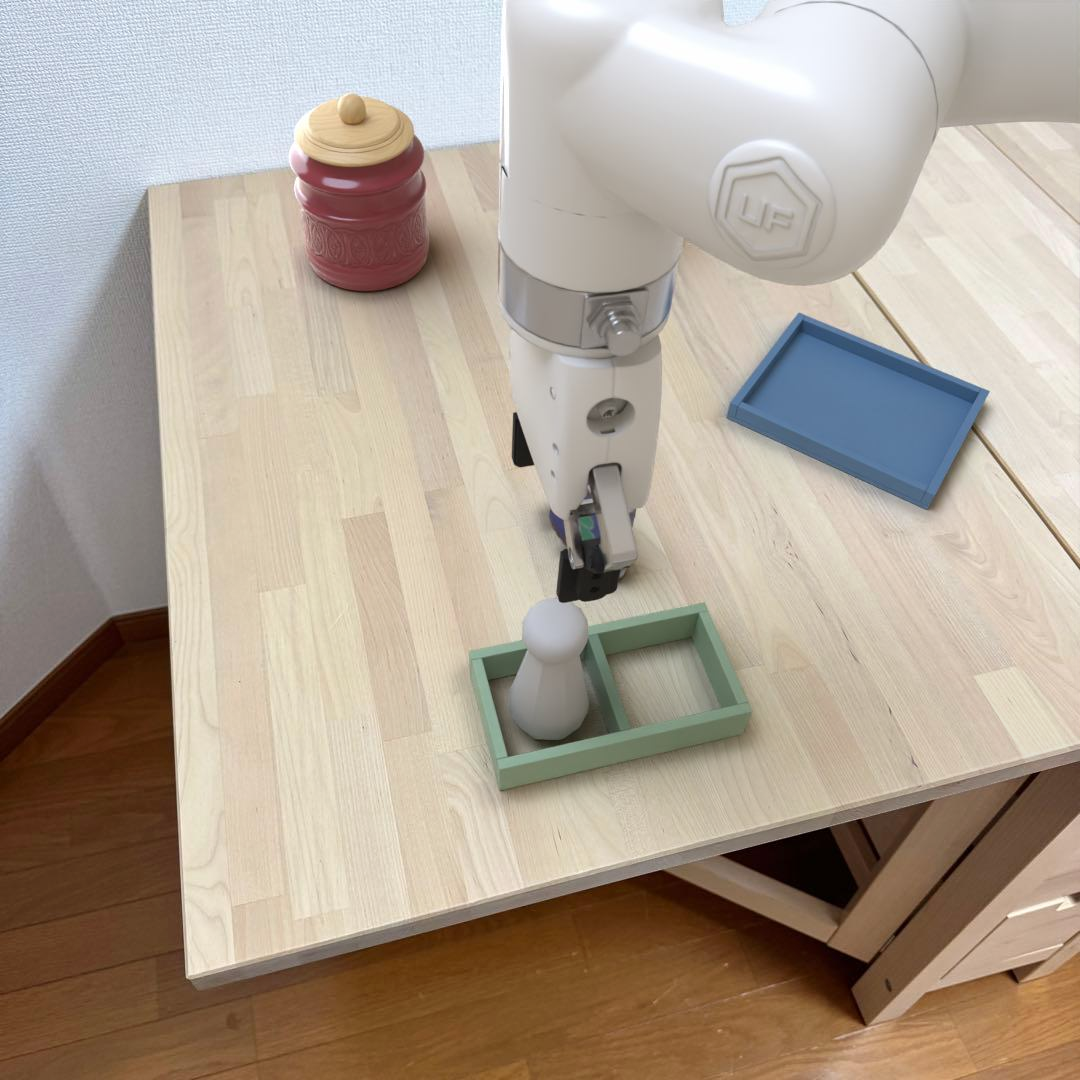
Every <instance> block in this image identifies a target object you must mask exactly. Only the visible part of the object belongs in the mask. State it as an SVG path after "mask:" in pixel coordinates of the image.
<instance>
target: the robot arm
mask: <svg viewBox="0 0 1080 1080" xmlns="http://www.w3.org/2000/svg"><path fill="white" fill-rule="evenodd" d="M500 33H501V35H500V36H501V38H500V39H501V40H500V99H499V100H500V101H499V104H500V105H499V164H498V165H499V170H498V171H499V174H498V175H499V176H498V232H497V234H498V235H497V236H498V237H497V239H498V241H497V305H498V309H499V312H500V314H501V316H502V318H503V320H504V321H505V323H506V324H507V325H508V327H509V328H510V331H509V332H510V333H509V358H508V359H509V360H508V361H509V362H508V363H509V365H508V366H509V367H508V369H509V384H510V391H511V396H512V401H513V405H514V408H515V411H516V412H512V432H511V460H512V464H513V465H514V466H515V467H517V468H526V467H532V466H534V468H535V470H536V473H537V476H538V479H539V482H540V484H541V487H542V491H543V493H544V495H545V499H546V500H547V504H548V506H549V509H550V508H551V510H552V511H553V513H554V514H555V515H557V516H558V517H559V518H561V519H563V520H564V527H565V535H566V543H567V547H566V548H564V549H563V550H560V552H559V561H558V572H557V581H556V590H555V594H556V598H558V600H559V602H561V603H567V602H572V603H573V602H577V601H580V602H583V603H588V602H593V601H598V600H601V599H603V598H604V597H606V596H607V595H610V594H614V593H615V592H617V590H618V585H619V580H620V579H619V576H620V570H621V569H624V568H626V569H629V568H630V567H631V566H632V564H634V563H636V562H637V561H638V558H639V557H638V556H639V553H638V548H637V542H636V538H635V533H634V529H633V528H632V525H631V520H630V516H629V512H628V510H634V509H636V510H638V509H642V508H644V507H645V505H646V504H647V502H648V500H649V497H650V493H651V489H652V488H651V487H652V482H653V475H654V469H655V461H656V455H657V449H658V448H657V446H658V441H659V440H658V438H659V431H660V420H661V409H662V394H663V393H662V391H663V390H662V389H663V388H662V387H663V359H662V358H663V357H662V356H663V355H662V344H661V340H660V336H659V335H660V333H661V332H662V331H663V330H664V329H665V326H666V325H667V323H668V320H669V318H670V315H671V311H672V310H671V309H672V305H673V297H674V294H675V293H674V292H675V288H676V287H675V286H676V282H677V277H678V272H679V267H680V266H679V265H680V261H681V255H682V250H683V247H684V241H687V242H688V243H690V244H692V245H693V246H695V247H697V248H698V249H700V250H702V251H704V253H707V254H709V255H710V256H712V257H713V258H715V259H716V260H719V261H721V262H723V263H724V264H726V265H728V266H730V267H732V268H733V269H736V270H738V271H740V272H743V273H745V274H746V275H747V274H748V275H750V276H752V277H755V278H758V279H760V280H762V281H768V282H771V283H776V284H781V285H785V286H797V287H798V286H799V287H809V286H817V285H823V284H828V283H832V282H834V281H837V280H840V279H842V278H845V277H847V276H848V275H850V274H852V273H854V272H856V271H857V270H859V269H860V268H862V267H863V266H864V265H865V264H867V263H868V262H870V261H871V260H872V259H873V258H874V257H875V256H876V255H877V254H878V253H879V251H881V249H882V248H883V247H884V246H885V245H886V244H887V242H888V240H889V239H890V237H891V236H892V234H893V233H894V231H895V229H896V228H897V226H898V225H899V223H900V221H901V219H902V217H903V214H904V211H905V209H906V208H907V206H908V204H909V202H910V199H911V197H912V195H913V192H914V189H915V187H916V185H917V182H918V181H919V177H920V175H921V174H922V173H921V172H922V171H923V168H924V166H925V163H926V160H927V159H928V156H929V154H930V152H931V149H932V147H933V145H934V143H935V140H936V139H937V136H938V134H939V132H940V129H942V128H943V129H944V128H956V127H967V126H969V127H970V126H980V125H993V124H1007V123H1037V122H1038V123H1041V122H1043V123H1045V122H1046V123H1066V124H1079V125H1080V0H767V2H766V3H765V5H764V6H763V7H762V9H761V10H760V11H759V12H758V14H757V16H756V17H755V18H754V20H751V21H749V22H746V23H742V24H738V25H735V26H730V25H729V24H727V23H726V21H725V13H724V2H723V0H503V2H502V14H501V31H500ZM588 485H589V486H590V490H591V495H592V499H586V500H584V498H585V497H586V495H587V487H588ZM591 515H596V517H597V522H598V526H599V531H600V537H599V538H594V539H588V540H583V541H582V536H581V528H580V520H579V518H580V517H585V516H591Z"/></svg>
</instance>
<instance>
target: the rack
mask: <svg viewBox="0 0 1080 1080" xmlns="http://www.w3.org/2000/svg"><path fill="white" fill-rule="evenodd" d="M706 604H707V603H706V602H705V601H704V602H700V603H695V604H689V605H685V606H680V607H675V608H671V609H665V610H661V611H656V612H651V613H645V614H642V615H641V614H640V615H636V616H632V617H626V618H622V619H616V620H612V621H607V622H603V623H602V622H601V623H598V624H593V625H588V641H587V643H586V645H585V647H584V649H583V650H582V652H581V654H580V655H579V656H580V660H581V661H584V664H585V666H586V669H587V672H588V676H589V679H590V681H591V684H592V687H593V690H594V693H595V696H596V699H597V702H598V705H599V708H600V711H601V714H602V717H603V721H604V723H605V726H606V730H607V732H608V733H607V734H602V735H599V736H594V737H590V738H585V739H582V740H577V741H573V742H568V743H564V744H560V745H559V744H558V745H554V746H550V747H545V748H542V749H538V750H534V751H533V750H532V751H529V752H524V753H520V754H519V753H518V754H515V755H511V756H509V755H508V752H507V747H506V744H505V739H504V736H503V733H502V729H501V725H500V724H501V723H500V721H499V717H498V714H497V710H496V706H495V702H494V698H493V695H492V691H491V687H490V684H489V681H490V680H494V679H500V678H505V677H509V676H514V675H517V673H518V671H519V668H520V666H521V664H522V661H523V659H524V657H525V654H526V652H527V648H526V646H525V644H524V642H523V641H522V639H519V640H514V641H510V642H505V643H501V644H496V645H490V646H486V647H482V648H476V649H472V650H469V651H468V661H469V662H468V663H469V665H468V666H469V677H470V678H469V679H470V682H471V686H472V689H473V693H474V697H475V700H476V705H477V708H478V713H479V716H480V721H481V724H482V728H483V732H484V737H485V739H486V744H487V748H488V753H489V756H490V760H491V764H492V768H493V772H494V776H495V780H496V784H497V787H498V790H499V791H504V790H509V789H513V788H517V787H521V786H525V785H529V784H535V783H539V782H542V781H546V780H547V781H548V780H551V779H555V778H559V777H565V776H568V775H573V774H576V773H577V774H578V773H581V772H585V771H589V770H593V769H598V768H599V769H600V768H603V767H607V766H611V765H615V764H621V763H623V762H628V761H633V760H636V759H642V758H645V757H649V756H654V755H658V754H663V753H667V752H670V751H671V752H672V751H675V750H679V749H683V748H688V747H693V746H698V745H702V744H704V743H709V742H714V741H718V740H722V739H726V738H731V737H735V736H739V735H743V734H744V732H745V729H746V727H747V725H748V724H749V723H748V722H749V720H750V718H751V715H752V713H753V710H752V707H751V705H750V703H749V700H748V698H747V696H746V693H745V691H744V689H743V687H742V684H741V682H740V680H739V678H738V675H737V673H736V671H735V668H734V666H733V663H732V661H731V658H730V656H729V655H728V652H727V650H726V648H725V645H724V643H723V641H722V638H721V636H720V633H719V631H718V630H717V628H716V625H715V622H714V620H713V618H712V615H711V613H710V611H709V609H708V606H707V605H706ZM687 638H688V639H689V638H691V639H692V641H693V644H694V646H695V648H696V651H697V654H698V656H699V658H700V661H701V663H702V665H703V668H704V670H705V673H706V675H707V678H708V680H709V682H710V685H711V687H712V690H713V692H714V695H715V696H716V698H717V701H718V704H719V706H720V708H718V709H717V708H716V709H712V710H708V711H704V712H700V713H699V712H698V713H696V714H691V715H686V716H682V717H678V718H673V719H669V720H664V721H661V722H656V723H652V724H647V725H642V726H638V727H634V728H632V727H631V725H630V721H629V719H628V716H627V713H626V711H625V708H624V705H623V702H622V699H621V696H620V692H619V691H618V687H617V684H616V682H615V679H614V676H613V672H612V671H611V668H610V664H609V662H608V659H607V656H608V655H613V654H618V653H622V652H628V651H631V650H636V649H641V648H645V647H651V646H655V645H659V644H660V645H661V644H664V643H669V642H673V641H679V640H683V639H687Z"/></svg>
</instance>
